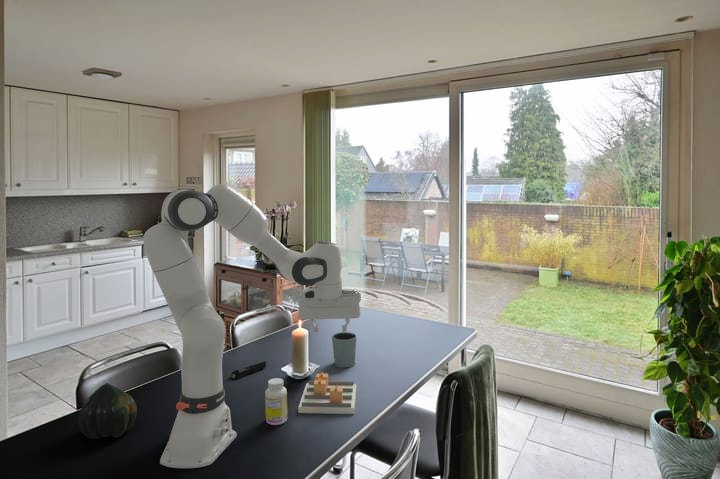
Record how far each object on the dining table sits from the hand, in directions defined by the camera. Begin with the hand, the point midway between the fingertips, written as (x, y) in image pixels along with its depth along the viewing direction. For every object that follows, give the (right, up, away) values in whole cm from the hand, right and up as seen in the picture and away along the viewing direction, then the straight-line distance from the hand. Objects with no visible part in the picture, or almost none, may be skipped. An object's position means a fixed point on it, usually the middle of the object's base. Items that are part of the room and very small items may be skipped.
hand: (330, 331), depth 150 cm
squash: (-65, -27, -16) cm, 72 cm away
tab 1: (-4, -22, +10) cm, 25 cm away
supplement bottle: (-16, -26, -8) cm, 32 cm away
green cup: (+3, -21, +38) cm, 43 cm away
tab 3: (+2, -23, -1) cm, 23 cm away
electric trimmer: (-34, -23, +28) cm, 50 cm away
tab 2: (-4, -23, +5) cm, 23 cm away
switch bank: (-1, -25, +5) cm, 25 cm away
